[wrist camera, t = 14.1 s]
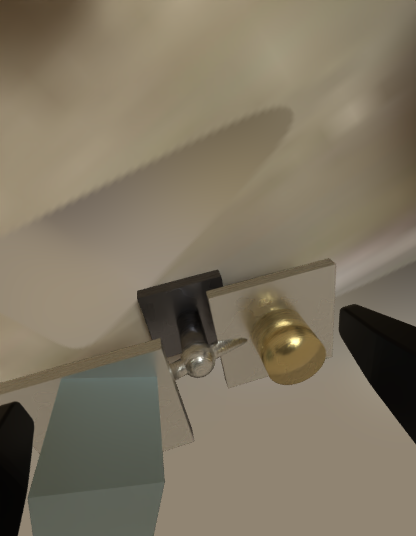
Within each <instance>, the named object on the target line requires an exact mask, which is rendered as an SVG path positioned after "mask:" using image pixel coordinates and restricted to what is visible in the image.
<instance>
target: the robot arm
mask: <svg viewBox="0 0 416 536" xmlns="http://www.w3.org/2000/svg"><path fill="white" fill-rule="evenodd" d="M339 333H340V335H341V338H342V339H343V341H344V343H345V344H346V346H347V347H348V349H349V351H350V352H351V354H352V356H353V357H354V359H355V360H356V362H357V364H358V365H359V367H360V369H361V370H362V372H363V374H364V375H365V377H366V378H367V380H368V381H369V383H370V384H371V385H372V387H373V389H374V390H375V391H376V393H377V394H378V395H379V397H380V398H381V399H382V400H383V402H384V403H385V404H386V406H387V407H388V408H389V410H390V411H391V412H392V414H393V415H394V416H395V418H396V419H397V420H398V422H399V423H400V424H401V425H402V427H403V428H404V429H405V431H406V432H407V433H408V435H409V436H410V437H411V439H412V440H413V441H414V443H415V444H416V327H415V326H412V325H410V324H407V323H404V322H402V321H399V320H396V319H394V318H391V317H389V316H386V315H383V314H381V313H378V312H375V311H372V310H370V309H367V308H364V307H362V306H359V305H356V304H352V305H349V306H345V307H343V308H341V309H340V316H339ZM33 437H34V421H33V419H32V417H31V416H30V415H29V414H28V412H27V411H26V410H25V408H24V407H23V406H22V405H21V403H20V402H17V401H14V402H10V403H7V404H3V405H1V406H0V536H18V532H19V527H20V523H21V518H22V513H23V508H24V504H25V499H26V494H27V488H28V480H29V472H30V463H31V453H32V446H33Z"/></svg>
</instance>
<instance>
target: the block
mask: <svg viewBox="0 0 416 536" xmlns="http://www.w3.org/2000/svg"><path fill="white" fill-rule="evenodd" d="M164 483H165V479H164V467H163V451H162V437H161V424H160V410H159V396H158V382H157V377H121V378H81V379H61V381H60V385H59V388H58V392H57V395H56V399H55V403H54V406H53V410H52V413H51V417H50V420H49V424H48V427H47V431H46V435H45V438H44V442H43V445H42V449H41V452H40V456H39V460H38V463H37V467H36V470H35V474H34V477H33V481H32V484H31V488H30V492H29V495H28V504H29V511H30V518H31V525H32V532H33V536H154V531H155V526H156V521H157V517H158V512H159V507H160V502H161V497H162V493H163V488H164Z"/></svg>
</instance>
